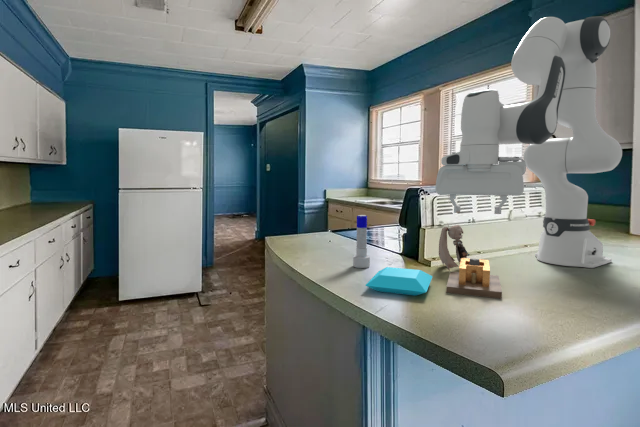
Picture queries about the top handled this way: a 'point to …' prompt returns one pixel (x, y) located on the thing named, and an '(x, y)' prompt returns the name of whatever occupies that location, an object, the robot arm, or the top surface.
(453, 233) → the toy
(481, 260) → the wooden notched block
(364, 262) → the bolt
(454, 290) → the flange base
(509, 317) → the top surface
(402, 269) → the prism
